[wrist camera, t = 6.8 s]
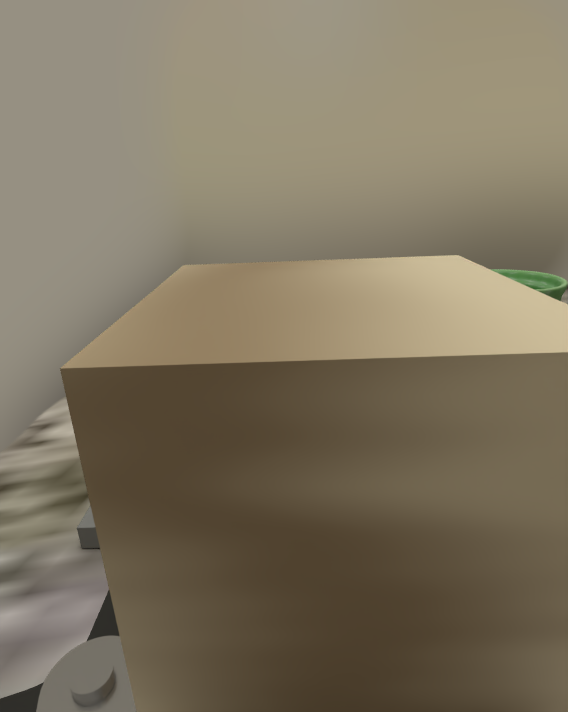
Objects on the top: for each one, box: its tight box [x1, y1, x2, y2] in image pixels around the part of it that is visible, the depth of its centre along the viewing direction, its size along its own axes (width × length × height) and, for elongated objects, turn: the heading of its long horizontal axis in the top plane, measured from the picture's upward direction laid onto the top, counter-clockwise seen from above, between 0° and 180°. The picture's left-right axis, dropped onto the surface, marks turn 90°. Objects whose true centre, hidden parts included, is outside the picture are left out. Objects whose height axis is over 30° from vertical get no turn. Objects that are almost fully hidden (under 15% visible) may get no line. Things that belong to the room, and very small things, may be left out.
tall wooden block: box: [60, 255, 568, 712], centre depth 8 cm, size 4×4×12 cm
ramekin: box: [492, 269, 567, 301], centre depth 42 cm, size 9×9×4 cm
